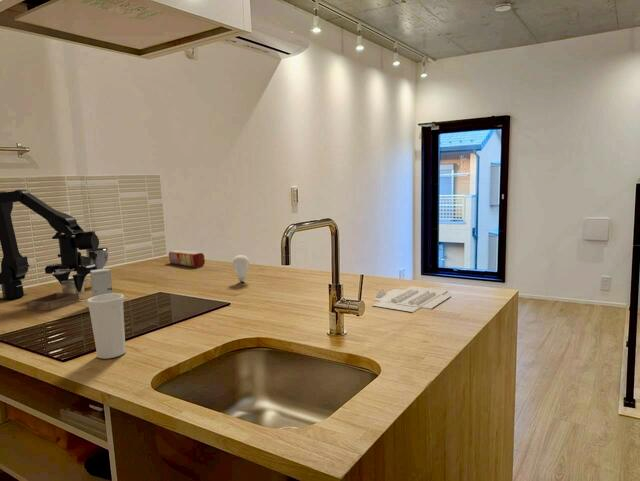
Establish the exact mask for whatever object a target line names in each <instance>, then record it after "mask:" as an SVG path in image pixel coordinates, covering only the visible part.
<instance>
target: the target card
mask: <svg viewBox="0 0 640 481" xmlns="http://www.w3.org/2000/svg"><path fill="white" fill-rule="evenodd" d="M91 297H92V296H91ZM91 297H88V298H85V299H79V300H78V301H77V302H85V301H87V300H88V299H89V298H91Z"/></svg>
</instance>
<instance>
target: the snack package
mask: <svg viewBox="0 0 640 481" xmlns="http://www.w3.org/2000/svg"><path fill="white" fill-rule="evenodd" d="M168 261H169V263H170V264H174V265H179V266H180V265H181V266H187V267H192V268H201V267H203V266H204V265H205V262H206V259H205V255H204V253H203V252H201V251H189V250H178V249H174V250H171V251H170V250H169V252H168Z"/></svg>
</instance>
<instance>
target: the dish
mask: <svg viewBox="0 0 640 481" xmlns="http://www.w3.org/2000/svg"><path fill="white" fill-rule="evenodd" d="M83 283H84V287H85V286H89V285H91V278H85V281H84V282H83Z"/></svg>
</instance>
